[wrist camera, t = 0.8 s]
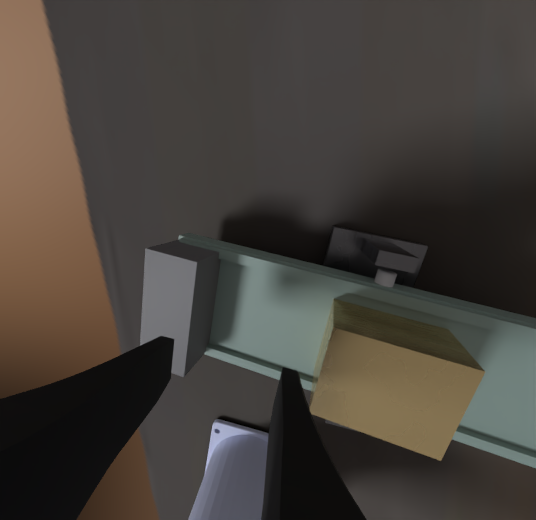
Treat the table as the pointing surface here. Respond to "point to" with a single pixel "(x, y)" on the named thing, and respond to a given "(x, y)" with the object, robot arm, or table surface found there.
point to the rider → (393, 378)
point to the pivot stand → (373, 257)
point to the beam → (314, 323)
